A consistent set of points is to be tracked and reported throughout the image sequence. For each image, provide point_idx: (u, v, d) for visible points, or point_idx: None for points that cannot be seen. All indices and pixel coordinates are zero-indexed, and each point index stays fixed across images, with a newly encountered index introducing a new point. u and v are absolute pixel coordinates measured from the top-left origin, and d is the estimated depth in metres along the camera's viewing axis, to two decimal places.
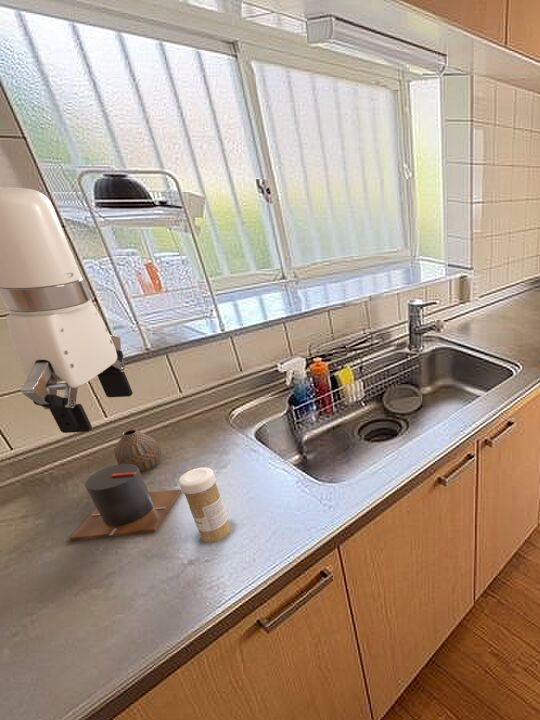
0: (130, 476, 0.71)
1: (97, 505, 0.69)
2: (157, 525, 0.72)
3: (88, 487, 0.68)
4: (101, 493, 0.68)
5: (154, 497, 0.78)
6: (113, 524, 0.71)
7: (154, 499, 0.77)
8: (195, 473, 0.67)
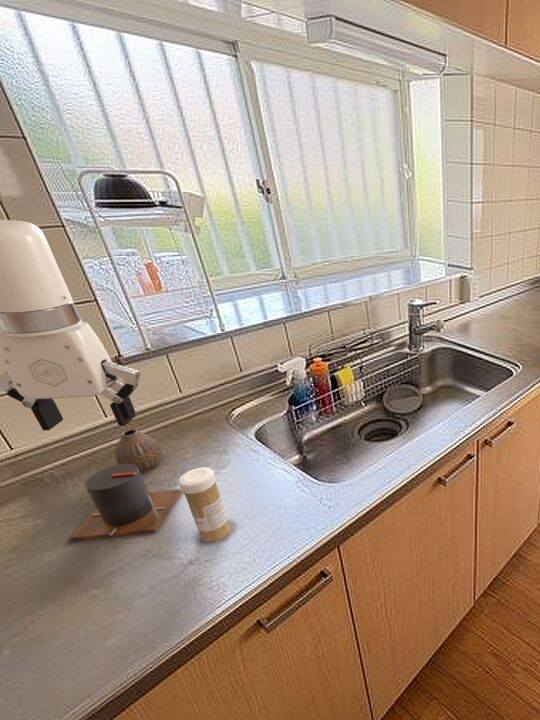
0: (130, 476, 0.71)
1: (97, 505, 0.69)
2: (157, 525, 0.72)
3: (88, 487, 0.68)
4: (101, 493, 0.68)
5: (154, 497, 0.78)
6: (113, 524, 0.71)
7: (154, 499, 0.77)
8: (195, 473, 0.67)
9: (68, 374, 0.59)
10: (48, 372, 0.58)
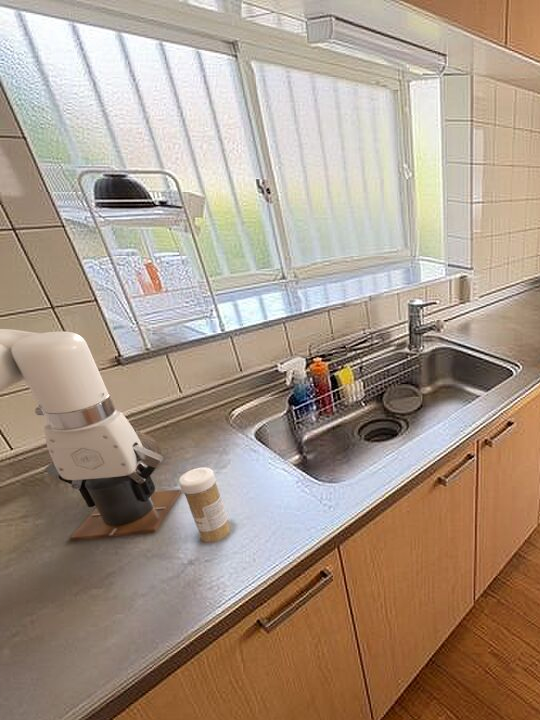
0: None
1: (97, 505, 0.69)
2: (157, 525, 0.72)
3: (88, 487, 0.68)
4: (101, 493, 0.68)
5: (154, 497, 0.78)
6: (113, 524, 0.71)
7: (154, 499, 0.77)
8: (195, 473, 0.67)
9: (105, 459, 0.66)
10: (87, 458, 0.66)
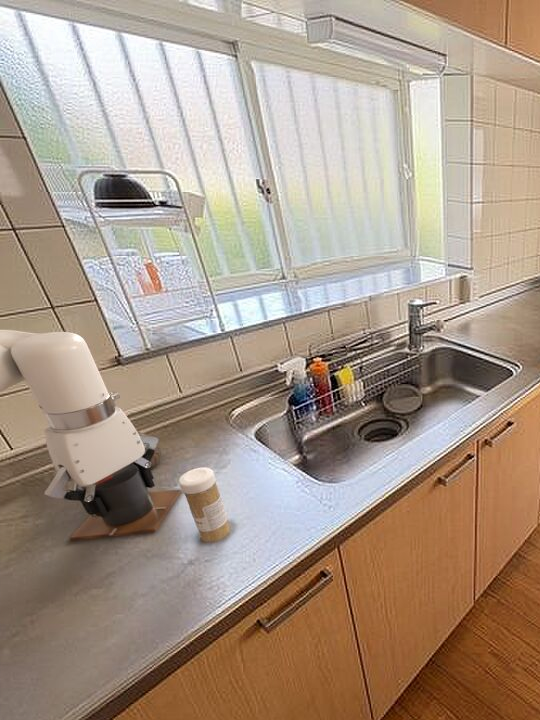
0: None
1: None
2: (157, 525, 0.72)
3: None
4: None
5: (154, 497, 0.78)
6: None
7: (154, 499, 0.77)
8: (195, 473, 0.67)
9: None
10: None
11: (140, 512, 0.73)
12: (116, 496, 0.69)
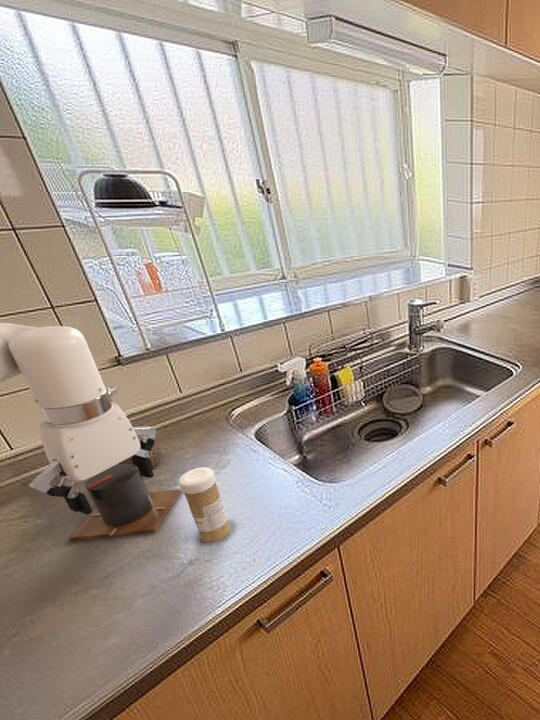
0: (90, 485, 0.68)
1: None
2: (157, 525, 0.72)
3: (115, 465, 0.73)
4: None
5: (154, 497, 0.78)
6: None
7: (154, 499, 0.77)
8: (195, 473, 0.67)
9: None
10: None
11: (140, 511, 0.73)
12: (117, 496, 0.69)
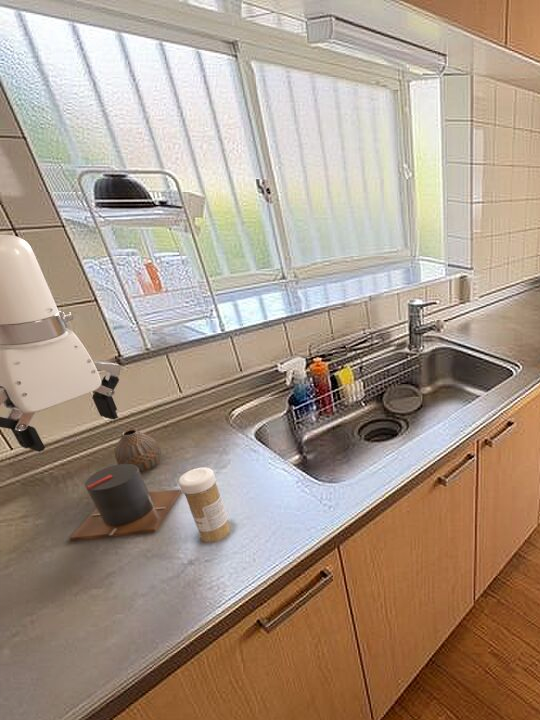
0: (90, 485, 0.68)
1: None
2: (157, 525, 0.72)
3: (115, 465, 0.73)
4: None
5: (154, 497, 0.78)
6: None
7: (154, 499, 0.77)
8: (195, 473, 0.67)
9: None
10: None
11: (140, 511, 0.73)
12: (117, 496, 0.69)
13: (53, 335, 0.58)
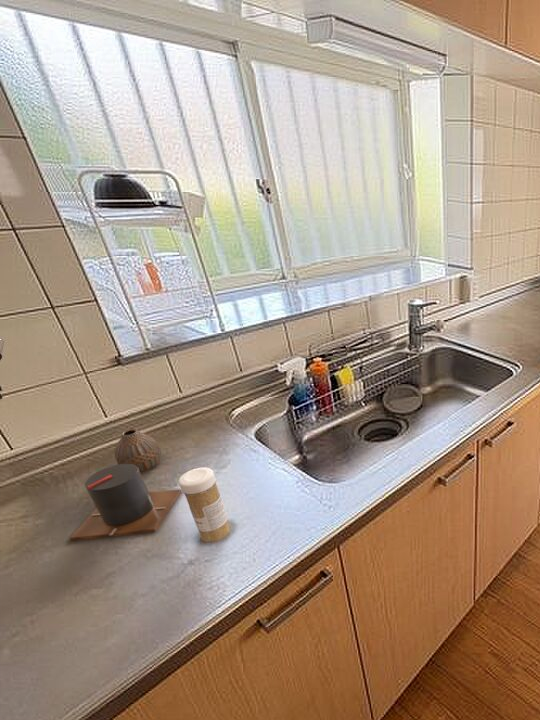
0: (90, 485, 0.68)
1: None
2: (157, 525, 0.72)
3: (115, 465, 0.73)
4: None
5: (154, 497, 0.78)
6: None
7: (154, 499, 0.77)
8: (195, 473, 0.67)
9: None
10: None
11: (140, 511, 0.73)
12: (117, 496, 0.69)
13: None
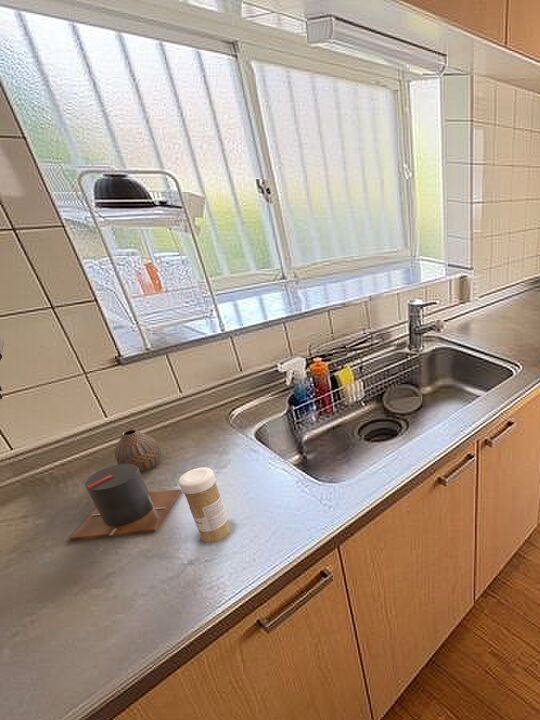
0: (90, 485, 0.68)
1: None
2: (157, 525, 0.72)
3: (115, 465, 0.73)
4: None
5: (154, 497, 0.78)
6: None
7: (154, 499, 0.77)
8: (195, 473, 0.67)
9: None
10: None
11: (140, 511, 0.73)
12: (117, 496, 0.69)
13: None
